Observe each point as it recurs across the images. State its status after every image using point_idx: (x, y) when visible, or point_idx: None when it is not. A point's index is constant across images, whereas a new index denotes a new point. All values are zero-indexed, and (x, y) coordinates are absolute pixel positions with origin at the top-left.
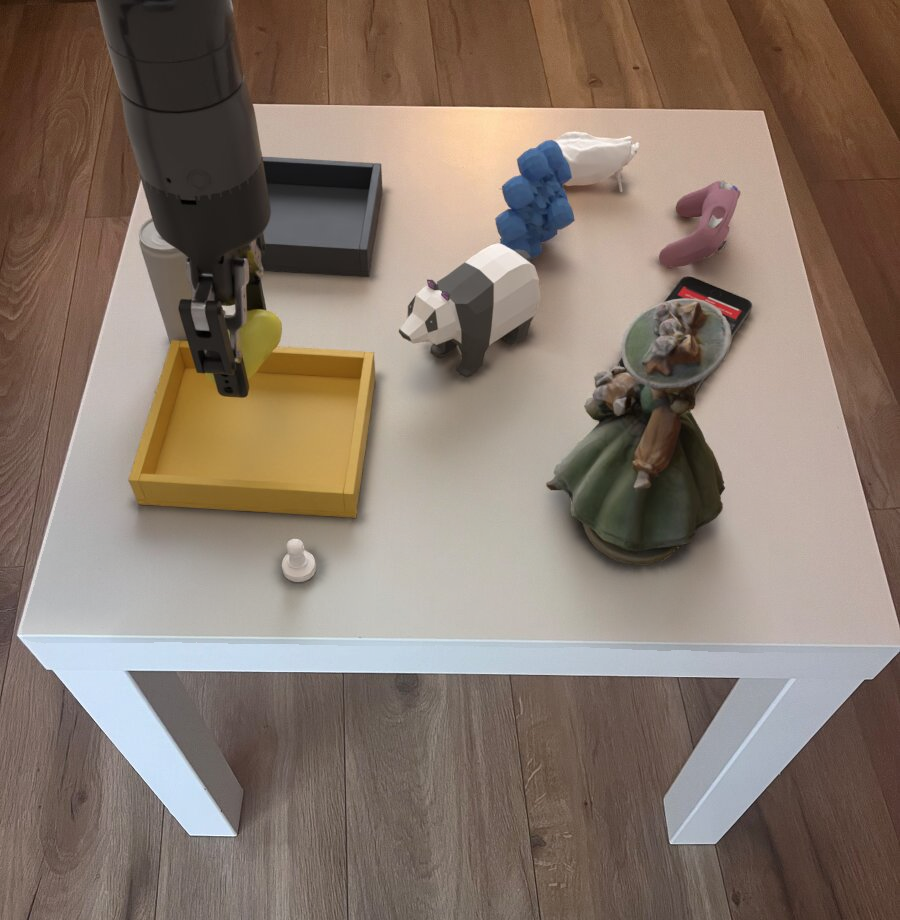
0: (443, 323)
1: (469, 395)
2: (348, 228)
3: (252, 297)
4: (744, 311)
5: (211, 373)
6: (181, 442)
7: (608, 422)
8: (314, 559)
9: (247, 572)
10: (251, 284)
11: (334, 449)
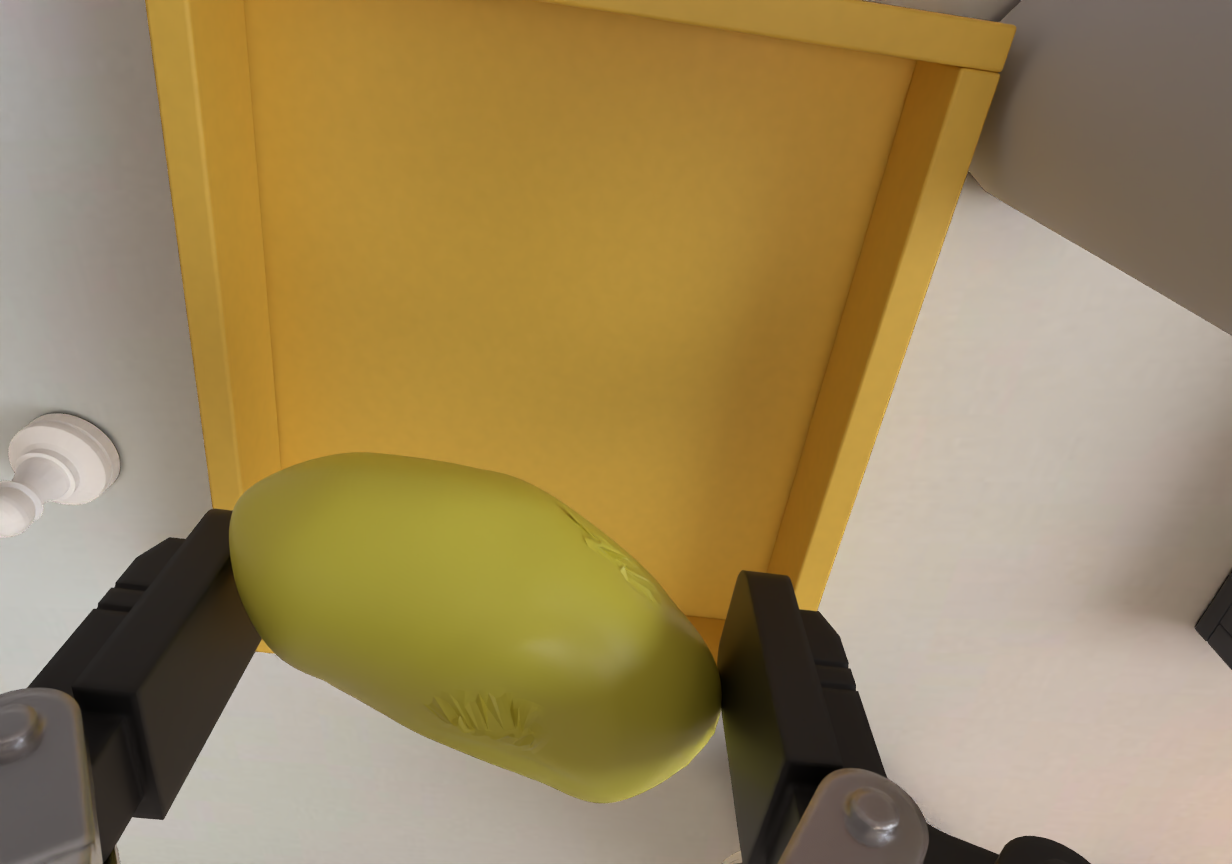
0: None
1: (678, 794)
2: None
3: (742, 757)
4: None
5: (229, 537)
6: (509, 71)
7: None
8: (85, 502)
9: (22, 316)
10: (755, 844)
11: None
